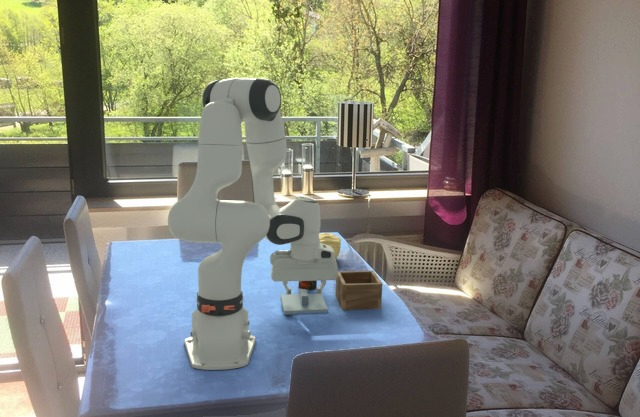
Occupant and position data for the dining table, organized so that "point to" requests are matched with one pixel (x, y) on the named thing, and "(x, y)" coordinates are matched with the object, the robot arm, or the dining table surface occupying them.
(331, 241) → the sculpture
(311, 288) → the deodorant
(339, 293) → the box
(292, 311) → the lid
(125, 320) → the dining table surface
